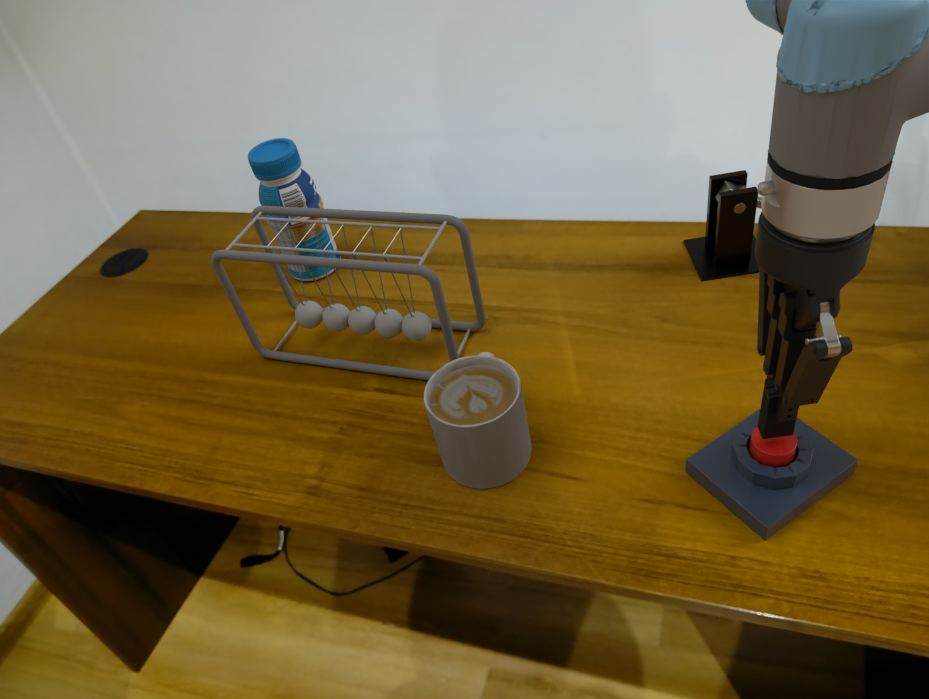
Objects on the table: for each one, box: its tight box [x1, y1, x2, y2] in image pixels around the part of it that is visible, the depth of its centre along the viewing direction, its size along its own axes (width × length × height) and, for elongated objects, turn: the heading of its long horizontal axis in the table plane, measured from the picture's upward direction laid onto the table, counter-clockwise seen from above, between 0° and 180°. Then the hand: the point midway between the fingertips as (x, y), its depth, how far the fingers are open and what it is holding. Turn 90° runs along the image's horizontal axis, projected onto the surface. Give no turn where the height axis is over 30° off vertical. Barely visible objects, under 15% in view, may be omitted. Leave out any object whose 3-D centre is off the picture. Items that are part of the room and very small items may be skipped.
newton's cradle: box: [210, 205, 487, 382], centre depth 89 cm, size 30×10×18 cm, turn 71°
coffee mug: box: [423, 351, 533, 490], centre depth 76 cm, size 13×10×10 cm
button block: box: [684, 408, 859, 542], centre depth 69 cm, size 12×10×4 cm
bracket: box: [683, 169, 759, 282], centre depth 91 cm, size 9×9×12 cm
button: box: [750, 427, 797, 467], centre depth 68 cm, size 4×4×2 cm
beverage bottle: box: [247, 137, 342, 282], centre depth 104 cm, size 8×8×20 cm
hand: (774, 430), depth 66 cm, fingers closed
